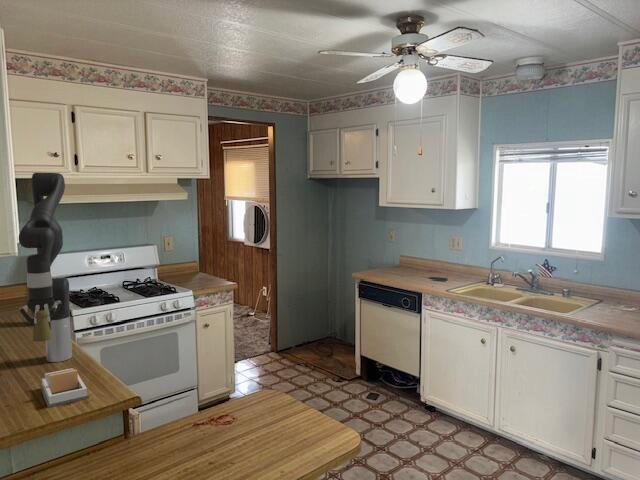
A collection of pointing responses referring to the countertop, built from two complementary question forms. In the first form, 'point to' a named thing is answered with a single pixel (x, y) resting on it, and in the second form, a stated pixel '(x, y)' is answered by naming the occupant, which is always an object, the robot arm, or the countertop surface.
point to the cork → (41, 326)
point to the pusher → (63, 381)
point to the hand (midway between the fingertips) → (42, 332)
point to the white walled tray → (63, 392)
